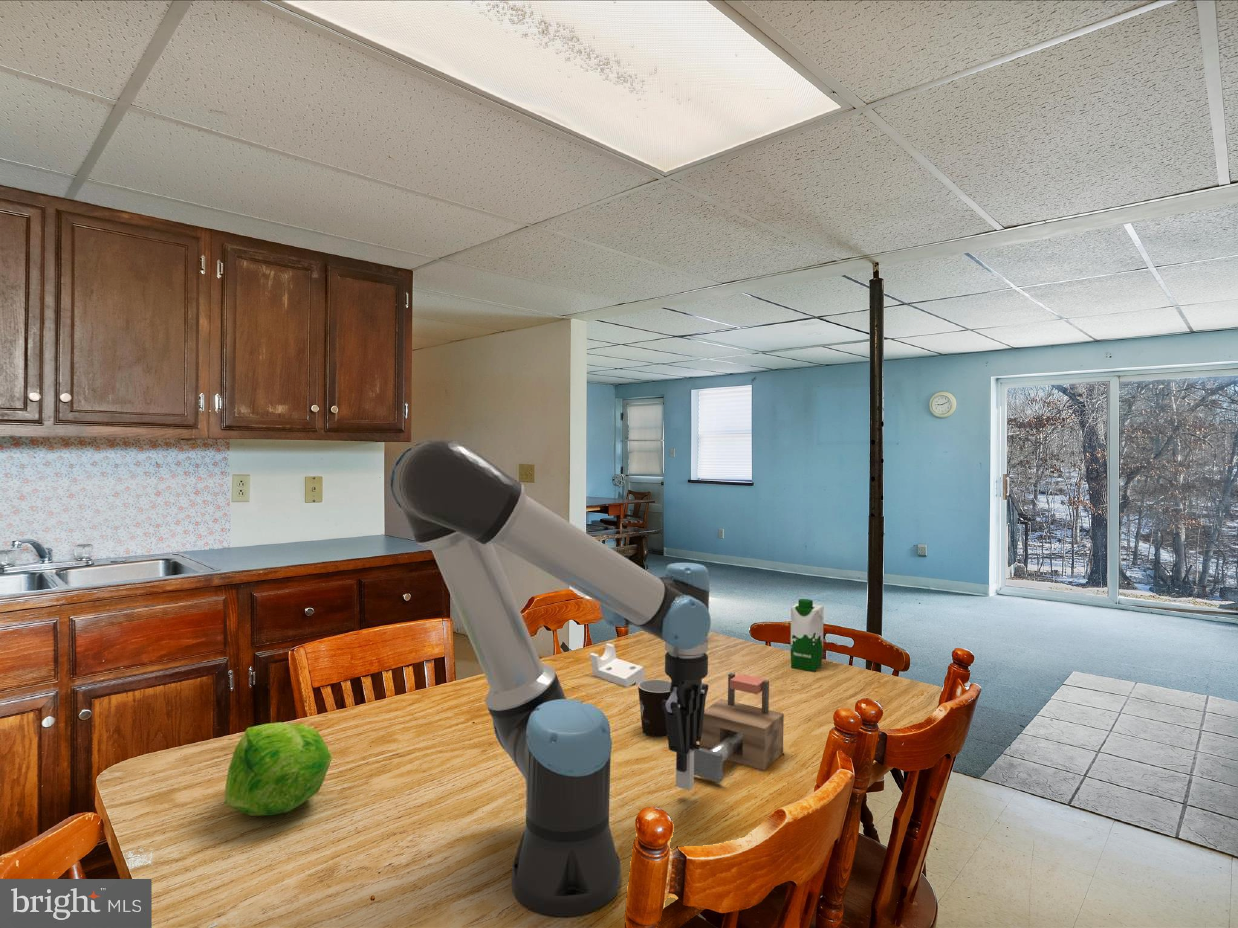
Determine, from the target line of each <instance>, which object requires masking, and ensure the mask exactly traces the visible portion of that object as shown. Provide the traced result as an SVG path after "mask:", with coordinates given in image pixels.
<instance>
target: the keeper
mask: <svg viewBox="0 0 1238 928" xmlns="http://www.w3.org/2000/svg"><path fill="white" fill-rule="evenodd" d="M764 680H767V681H768V679H767V678H762V677H757V676H754V675H747V674H743V673H739V674H737V675H735V677H734V678H732V679H730V689H735V691H740V692H744V693H749V694H754V695H759V694H760V693H762V681H764Z"/></svg>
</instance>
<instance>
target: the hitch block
mask: <svg viewBox="0 0 1238 928" xmlns="http://www.w3.org/2000/svg"><path fill="white" fill-rule="evenodd" d="M727 677H728V678H727V680H728V681H727V699H722V698H721V699H719V700H717V701H716V702H714V703H713V704H711V705H710V706H708V707H706V708H705V709H704V718H703V726H702V735H701V740H700V742H699V741H698V742H699V743H698V745H700V748H703V749H707V750H711V749H712V748H713V747H715V746H716V745H717V744H719V743H720V742H721V741H723V740H724V739H725V738H727V737H728V736H729V735H731V734H732V733H733V732H739V733H742V734H743V746H742V747H741V748H739V749H738V750H737V751H736V752H734V753H733V754H732V755H731V756H729V757H728V758H727V759H726V760H728V761H730V762H735V763H737V764H740V765H744V766H747V767H751V768H753V769H754V768H755V769H757V770H760V771H761V770H762V771H765V770H766V769H767V768H768V767H770V765H772V763H773V762H775V761H776V760H777V759H778V758H779V757H780V756H781V755H782V754H783V753H784V720H785V719H784V715H785V713H783V712H779V711H774V710H769V709H770V708H769V707H770V706H769V703H770V702H769V700H770V680H768V679H767V680H764V681H762V691H761V707H758V706H755V705H754V706H753V705H749V704H745V703H742V702H741V703H740V702H736V701H735V697H736V694H735V693H736V690H735V689H730V679H732V678H734V677H736V674H735V673H733V672H730V673H728V674H727ZM726 760H725V761H726Z"/></svg>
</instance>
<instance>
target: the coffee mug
mask: <svg viewBox="0 0 1238 928" xmlns="http://www.w3.org/2000/svg"><path fill="white" fill-rule="evenodd" d="M670 686H671V680H665V679H657V678H656V679H645V680H643V681H642V682H640V683H639V684H637V687H638V688H637V689H638V698H639V711H640V720H641V721H640V722H641V731H642V733H643V734H644V735H646V736H648V737H652V738H664V737H665V738H666V737H667V729H666V720H665V712H664V710H663V708H662V701H663V700H668V699H669V697H670V695H671V694H670Z"/></svg>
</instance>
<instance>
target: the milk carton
mask: <svg viewBox="0 0 1238 928" xmlns="http://www.w3.org/2000/svg"><path fill="white" fill-rule="evenodd" d="M813 601H814V600H812V599H808V598H799V599H798V603H794V605H792V606H790V668H791V669H795V670H801V671H802V670H803V671H806V672H812V673H815V672H817V671H818V670H819V669H820V668H821V667H822V665H823V664H822V663H823V653H824V612H825V611H824V610H825V609H824V605H819V604H814V602H813Z"/></svg>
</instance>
